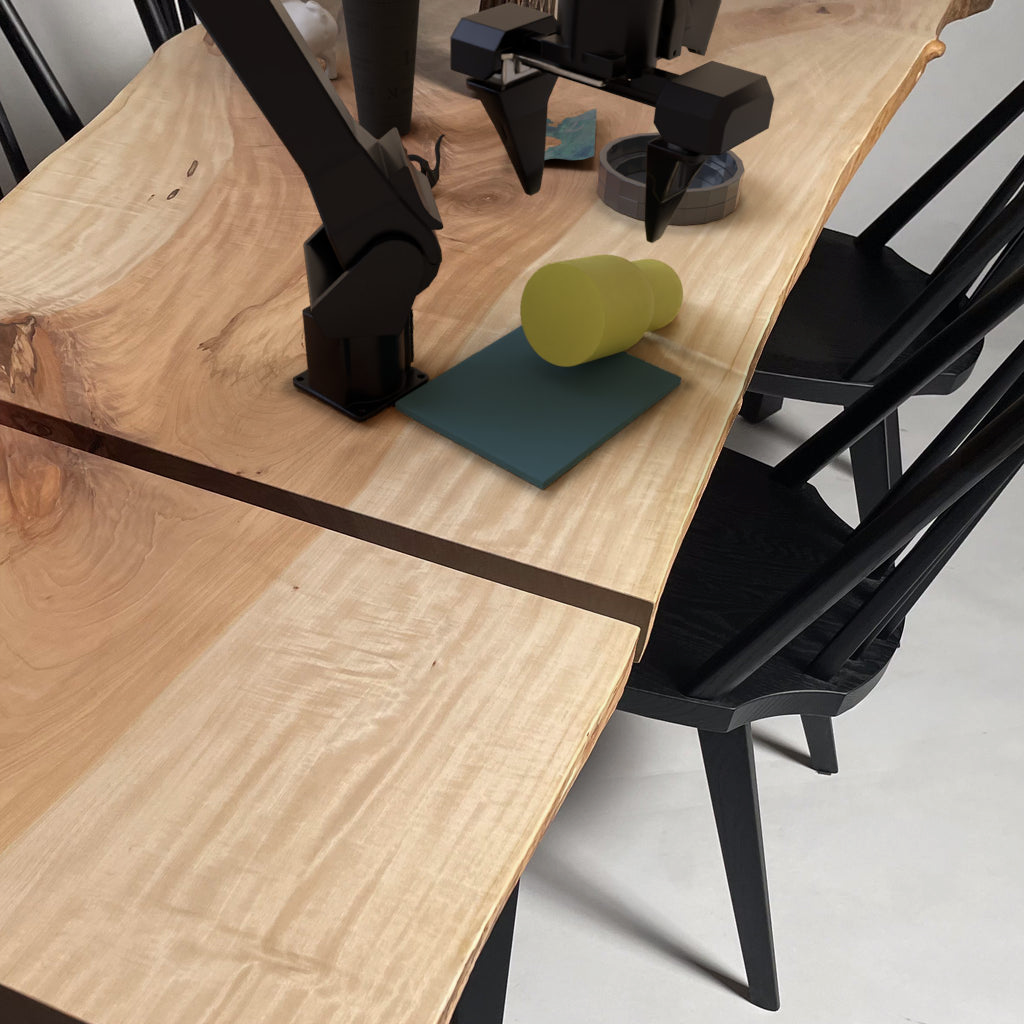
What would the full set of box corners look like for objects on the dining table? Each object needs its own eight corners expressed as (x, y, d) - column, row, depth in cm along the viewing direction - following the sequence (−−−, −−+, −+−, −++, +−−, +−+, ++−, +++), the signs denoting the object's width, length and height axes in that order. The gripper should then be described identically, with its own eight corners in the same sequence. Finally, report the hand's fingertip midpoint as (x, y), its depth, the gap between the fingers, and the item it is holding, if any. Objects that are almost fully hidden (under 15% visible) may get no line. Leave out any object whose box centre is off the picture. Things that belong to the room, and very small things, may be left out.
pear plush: (613, 278, 67) (724, 256, 77) (528, 250, 70) (645, 232, 81) (593, 380, 70) (703, 345, 80) (512, 348, 73) (628, 319, 83)
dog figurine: (266, 50, 120) (255, -57, 113) (349, 79, 114) (343, -33, 107) (227, 61, 117) (214, -48, 110) (311, 92, 111) (302, -22, 104)
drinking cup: (332, 138, 102) (316, -103, 89) (360, 109, 108) (349, -121, 95) (411, 149, 101) (406, -93, 88) (435, 119, 107) (434, -113, 94)
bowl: (688, 246, 89) (694, 205, 87) (567, 199, 95) (571, 160, 92) (762, 199, 96) (770, 160, 94) (647, 158, 102) (651, 121, 100)
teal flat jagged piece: (593, 176, 98) (594, 155, 97) (506, 173, 98) (506, 153, 97) (595, 122, 108) (596, 103, 106) (516, 120, 108) (516, 101, 107)
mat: (542, 490, 65) (543, 482, 64) (394, 409, 70) (394, 402, 70) (680, 384, 74) (682, 377, 73) (540, 320, 79) (540, 313, 79)
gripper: (850, -56, 58) (790, 221, 68) (567, -118, 66) (552, 136, 76) (742, -14, 51) (693, 286, 61) (443, -88, 60) (444, 185, 70)
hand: (591, 215), depth 67 cm, fingers open, 9 cm apart
